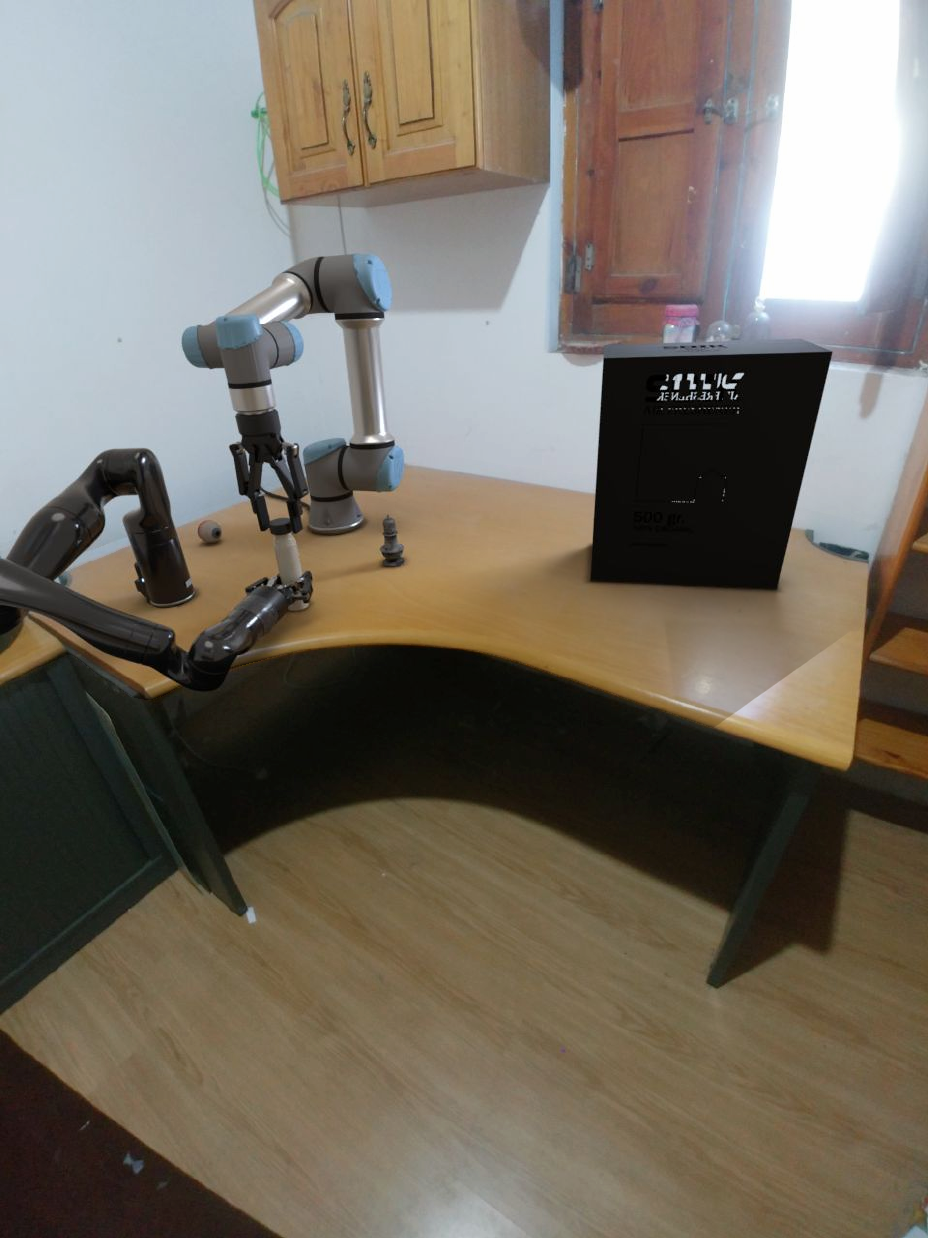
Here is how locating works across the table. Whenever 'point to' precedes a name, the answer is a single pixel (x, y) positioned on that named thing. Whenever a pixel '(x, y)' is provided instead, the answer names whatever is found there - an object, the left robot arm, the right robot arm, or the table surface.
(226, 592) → the table surface
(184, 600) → the left robot arm
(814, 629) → the table surface
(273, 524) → the cap
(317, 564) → the table surface
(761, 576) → the cardboard box
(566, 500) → the table surface
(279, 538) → the bottle
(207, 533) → the eyeball
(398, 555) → the grey tall tiered piece
